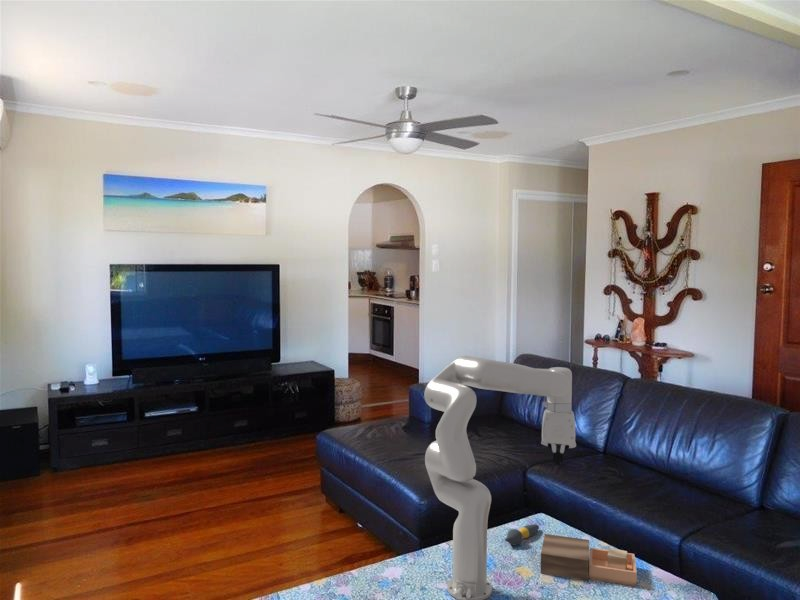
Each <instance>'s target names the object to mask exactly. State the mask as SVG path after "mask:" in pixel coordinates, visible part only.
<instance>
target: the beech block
mask: <svg viewBox="0 0 800 600" xmlns="http://www.w3.org/2000/svg"><path fill="white" fill-rule="evenodd" d="M608 550H609V552H608V557H607V567H610V568H616V569H623V570H626V569H627V553H628V551H627V550H623V549H616V548H612V547H609V549H608Z"/></svg>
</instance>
